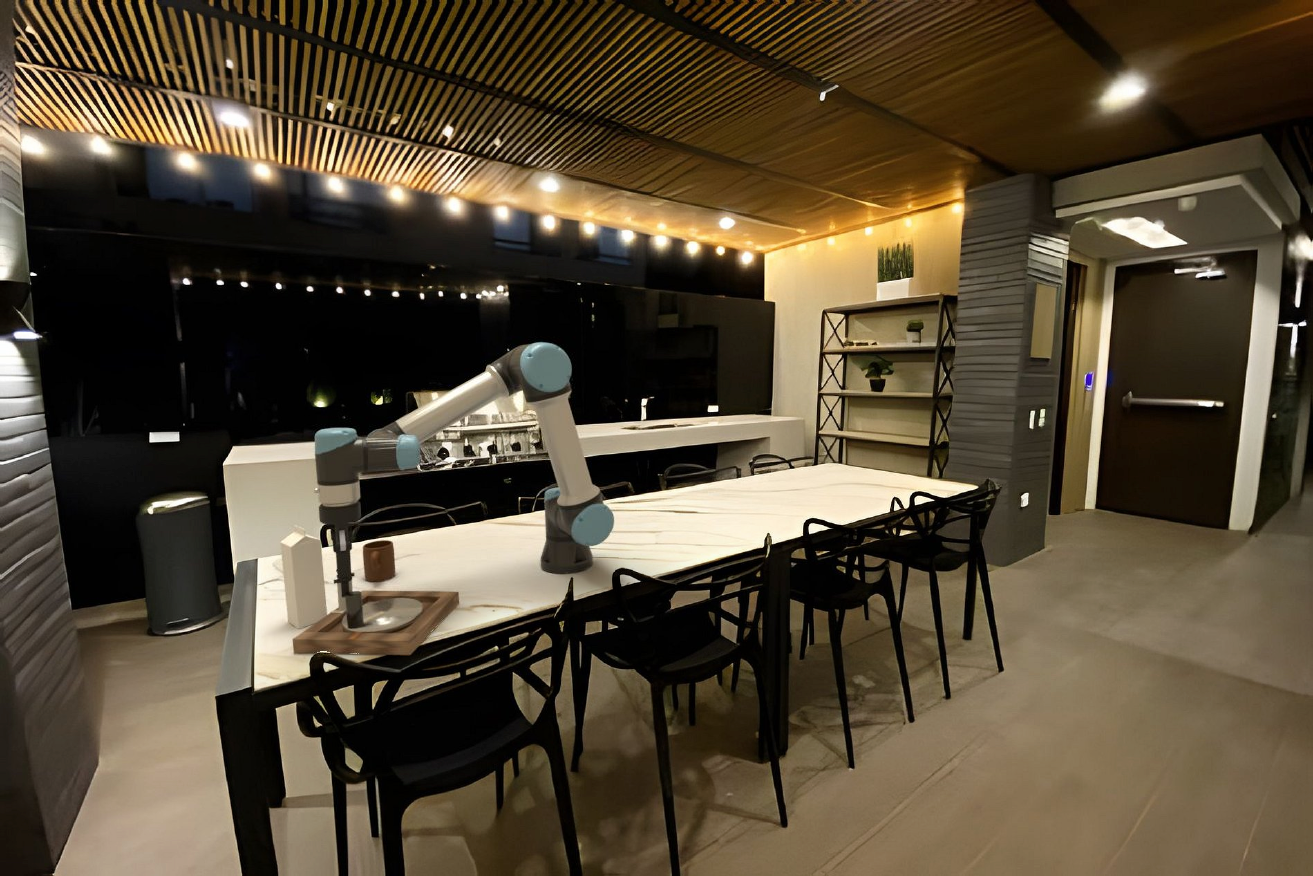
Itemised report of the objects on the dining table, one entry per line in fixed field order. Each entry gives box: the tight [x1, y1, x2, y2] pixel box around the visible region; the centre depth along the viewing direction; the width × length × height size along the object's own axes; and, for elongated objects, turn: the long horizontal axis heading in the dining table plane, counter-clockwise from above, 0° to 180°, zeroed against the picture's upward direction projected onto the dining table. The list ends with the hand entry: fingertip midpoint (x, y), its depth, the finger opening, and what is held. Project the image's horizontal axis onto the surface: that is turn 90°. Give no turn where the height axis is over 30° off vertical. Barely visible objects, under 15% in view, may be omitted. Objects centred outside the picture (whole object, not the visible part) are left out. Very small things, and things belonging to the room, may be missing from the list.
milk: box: [280, 524, 328, 630], centre depth 120 cm, size 6×6×22 cm
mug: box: [362, 539, 396, 583], centre depth 145 cm, size 12×8×9 cm, turn 20°
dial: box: [342, 590, 423, 633], centre depth 118 cm, size 16×16×8 cm
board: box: [292, 589, 460, 656], centre depth 119 cm, size 24×24×3 cm
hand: (346, 608), depth 114 cm, fingers closed
